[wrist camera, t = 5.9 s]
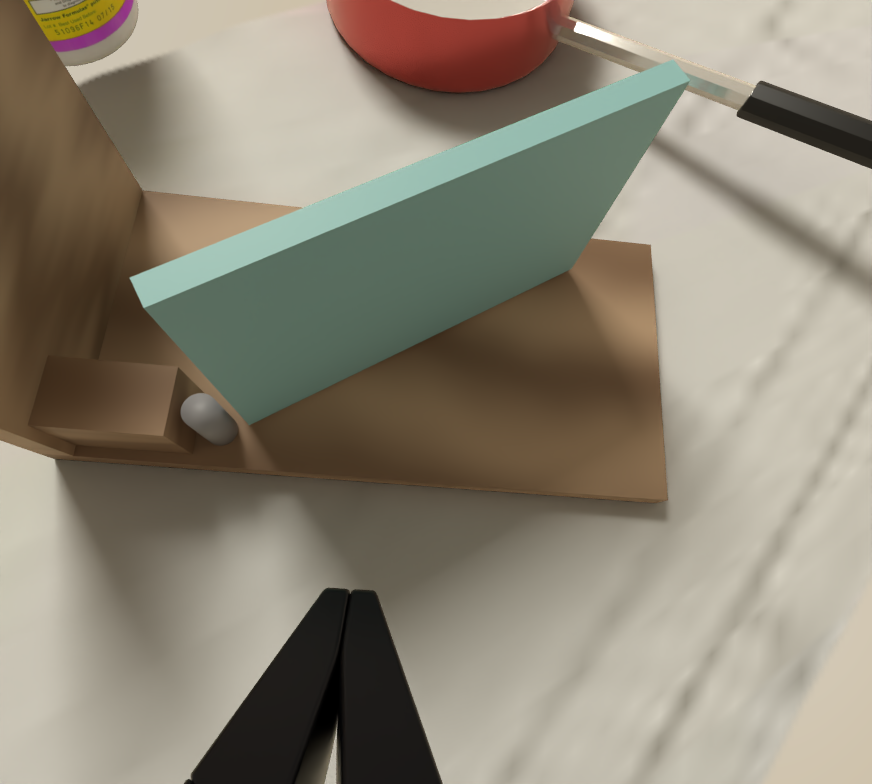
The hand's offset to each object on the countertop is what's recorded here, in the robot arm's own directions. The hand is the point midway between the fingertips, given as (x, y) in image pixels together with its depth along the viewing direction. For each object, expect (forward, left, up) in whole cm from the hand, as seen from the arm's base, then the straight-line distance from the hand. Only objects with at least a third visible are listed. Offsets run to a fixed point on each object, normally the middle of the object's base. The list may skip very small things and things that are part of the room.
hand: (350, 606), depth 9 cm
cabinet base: (+10, 0, -13) cm, 16 cm away
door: (+10, 0, -12) cm, 15 cm away
